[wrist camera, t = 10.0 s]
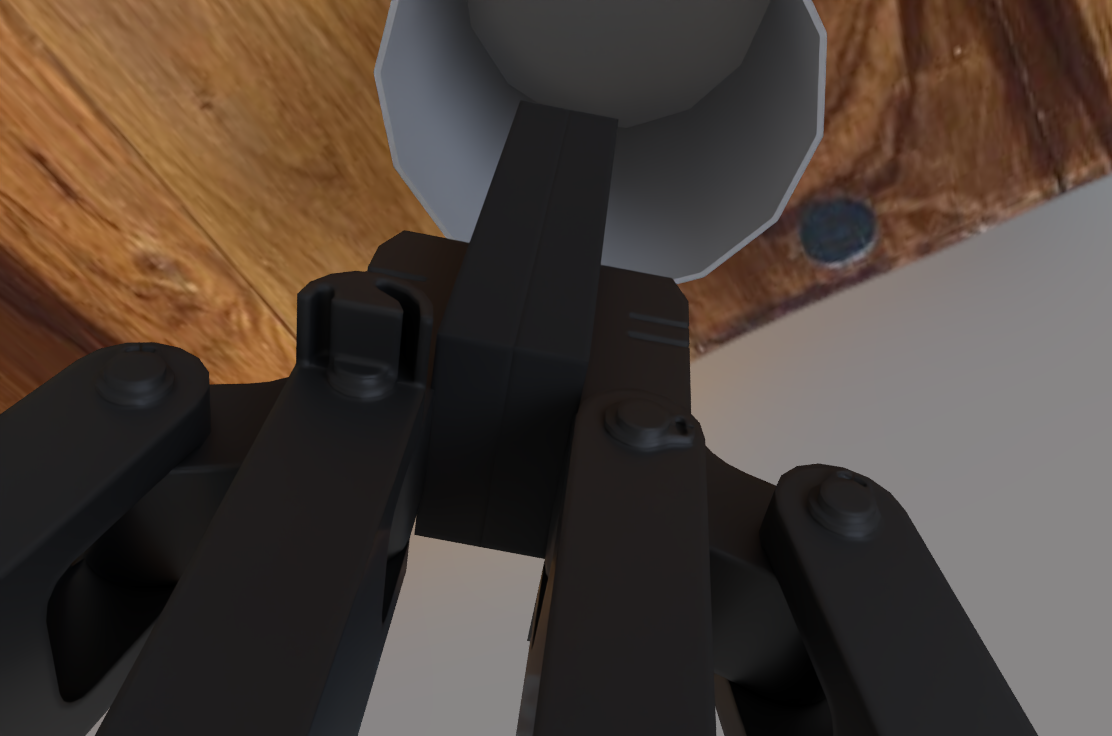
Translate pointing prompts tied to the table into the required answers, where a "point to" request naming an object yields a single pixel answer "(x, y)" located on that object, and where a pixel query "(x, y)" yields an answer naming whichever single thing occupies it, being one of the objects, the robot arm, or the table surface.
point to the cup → (614, 110)
